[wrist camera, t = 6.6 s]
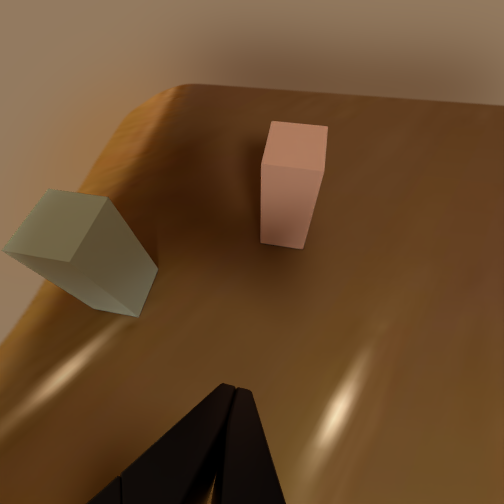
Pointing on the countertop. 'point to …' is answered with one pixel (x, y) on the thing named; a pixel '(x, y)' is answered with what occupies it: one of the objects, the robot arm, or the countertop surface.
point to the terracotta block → (290, 181)
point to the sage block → (85, 251)
